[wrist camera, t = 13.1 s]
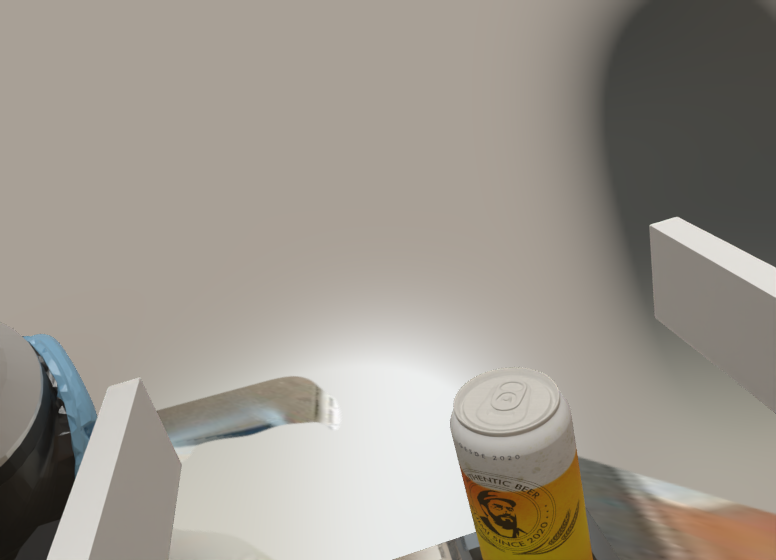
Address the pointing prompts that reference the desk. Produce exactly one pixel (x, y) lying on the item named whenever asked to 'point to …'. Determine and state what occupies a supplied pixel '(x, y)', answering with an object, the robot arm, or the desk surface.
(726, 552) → the desk surface
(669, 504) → the desk surface
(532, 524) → the beer can
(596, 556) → the socket board
